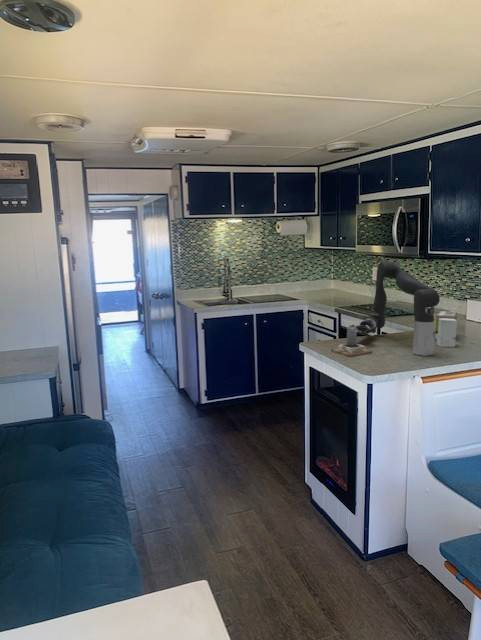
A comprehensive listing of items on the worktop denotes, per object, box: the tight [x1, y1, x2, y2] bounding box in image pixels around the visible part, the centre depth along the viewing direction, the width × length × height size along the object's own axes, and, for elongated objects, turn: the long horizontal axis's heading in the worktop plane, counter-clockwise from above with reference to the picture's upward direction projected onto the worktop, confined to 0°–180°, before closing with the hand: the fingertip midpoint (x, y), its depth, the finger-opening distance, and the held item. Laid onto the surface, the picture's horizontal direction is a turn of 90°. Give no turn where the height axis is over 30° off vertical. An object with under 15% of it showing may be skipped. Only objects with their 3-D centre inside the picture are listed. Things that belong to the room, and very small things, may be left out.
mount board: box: [330, 343, 373, 358], centre depth 251 cm, size 15×15×4 cm
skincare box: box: [436, 318, 458, 348], centre depth 259 cm, size 8×6×15 cm
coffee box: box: [425, 306, 435, 317], centre depth 290 cm, size 9×6×16 cm
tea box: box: [435, 310, 458, 341], centre depth 277 cm, size 15×10×15 cm, turn 150°
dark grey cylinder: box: [346, 326, 358, 348], centre depth 250 cm, size 5×5×12 cm
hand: (358, 331), depth 258 cm, fingers open, 8 cm apart
